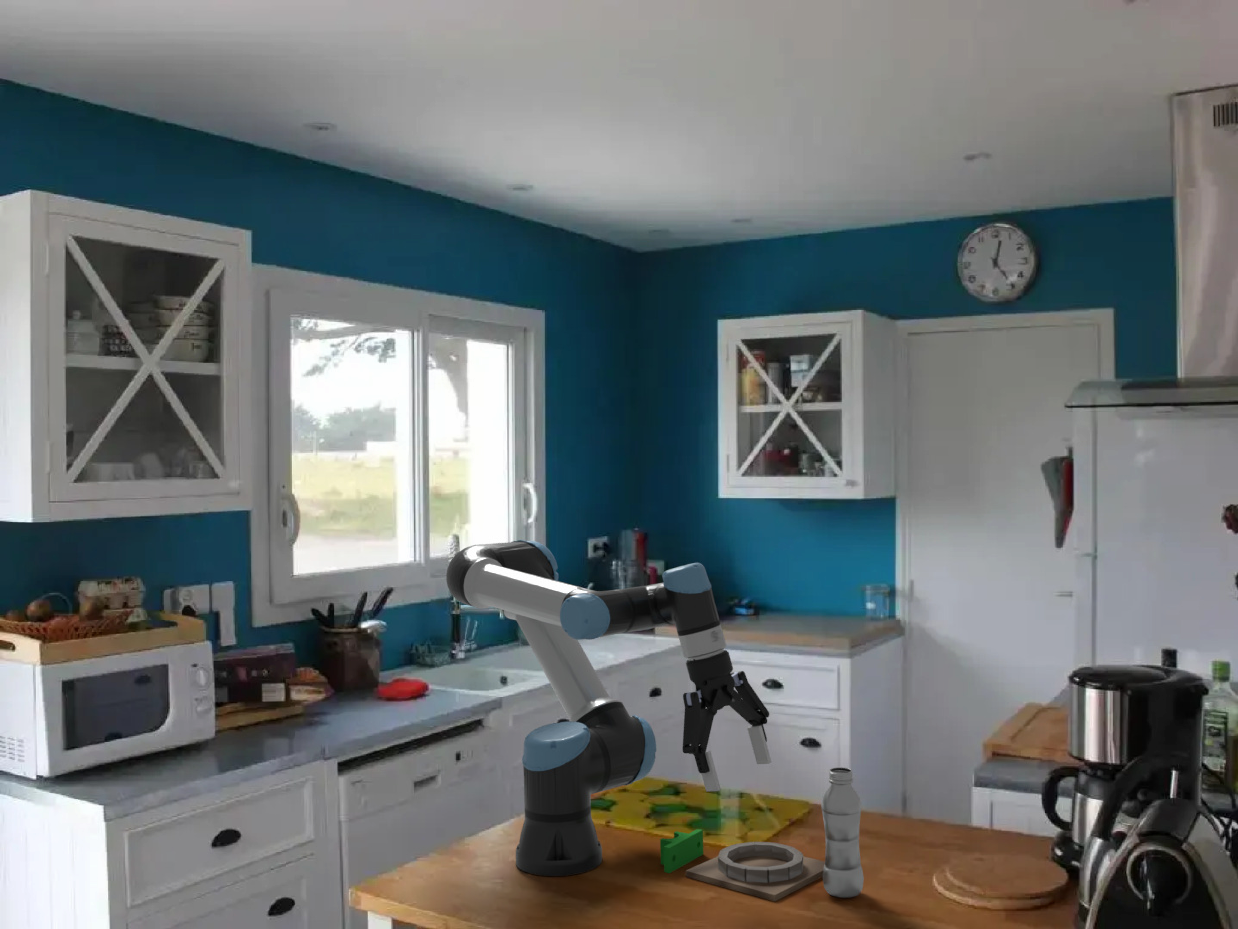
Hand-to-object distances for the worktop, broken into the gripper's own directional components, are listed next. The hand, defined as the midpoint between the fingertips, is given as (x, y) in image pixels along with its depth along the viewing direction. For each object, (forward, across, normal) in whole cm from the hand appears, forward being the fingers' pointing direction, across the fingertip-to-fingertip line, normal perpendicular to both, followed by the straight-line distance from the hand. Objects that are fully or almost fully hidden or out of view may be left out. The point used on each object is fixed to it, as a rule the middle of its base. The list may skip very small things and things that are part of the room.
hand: (739, 777), depth 204 cm
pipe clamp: (+13, -5, +15) cm, 21 cm away
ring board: (+17, 0, +1) cm, 17 cm away
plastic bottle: (+20, +1, -14) cm, 25 cm away
